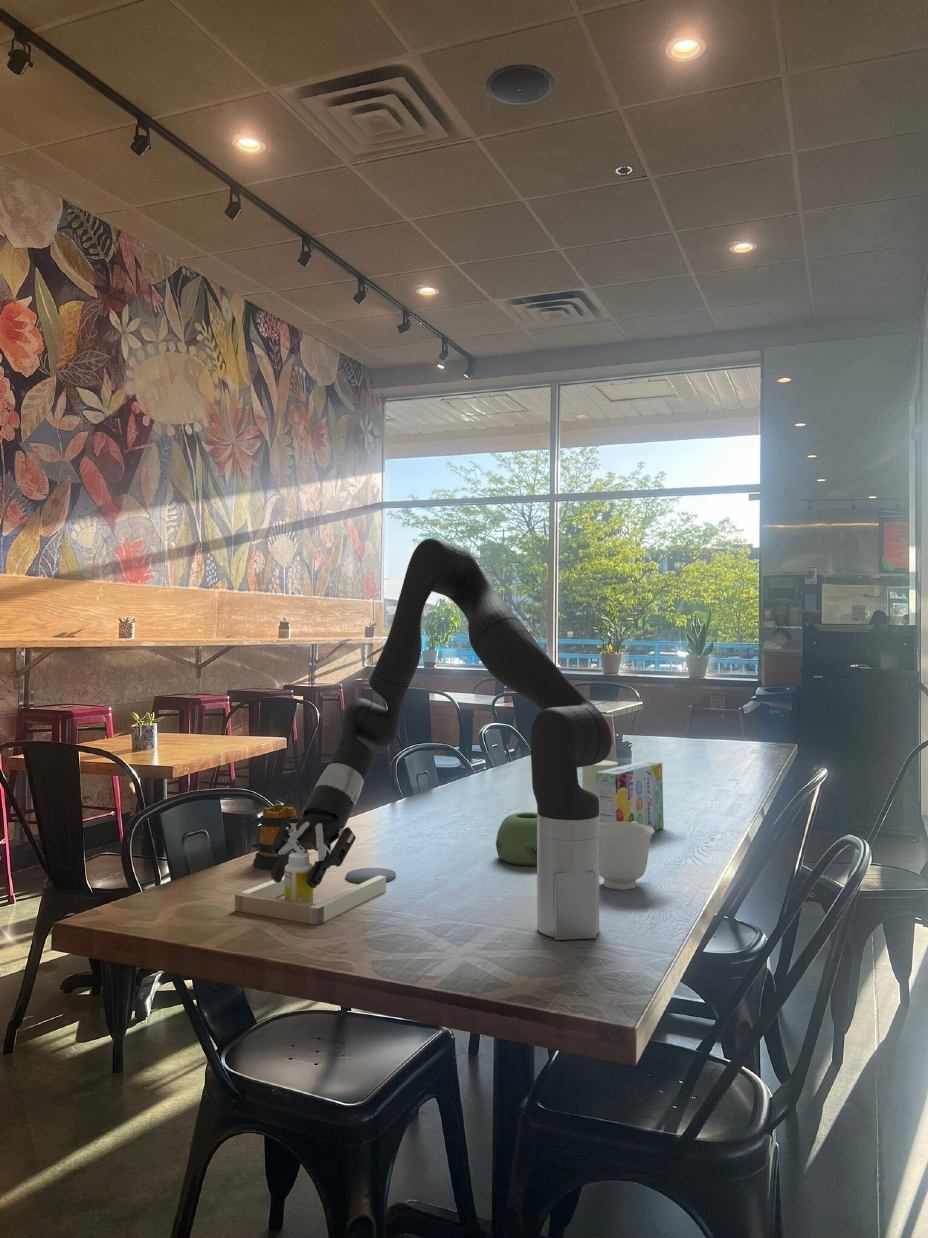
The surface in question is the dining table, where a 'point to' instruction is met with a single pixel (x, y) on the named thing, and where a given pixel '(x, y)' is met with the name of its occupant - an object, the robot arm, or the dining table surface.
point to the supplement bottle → (298, 878)
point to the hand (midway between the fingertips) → (292, 882)
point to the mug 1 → (272, 833)
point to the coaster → (369, 874)
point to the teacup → (623, 853)
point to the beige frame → (267, 904)
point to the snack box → (631, 794)
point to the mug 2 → (518, 839)
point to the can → (594, 774)
